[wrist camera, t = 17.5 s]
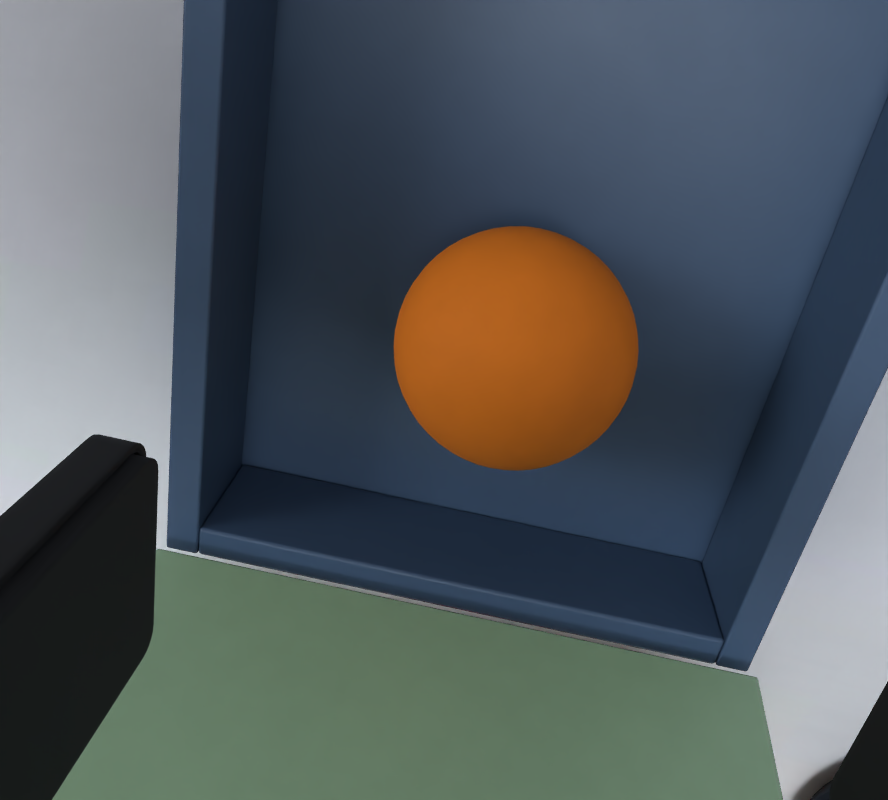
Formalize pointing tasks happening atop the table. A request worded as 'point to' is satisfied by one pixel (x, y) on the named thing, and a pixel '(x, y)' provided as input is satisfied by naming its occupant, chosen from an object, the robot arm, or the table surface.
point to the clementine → (516, 348)
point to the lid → (405, 706)
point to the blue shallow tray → (558, 210)
